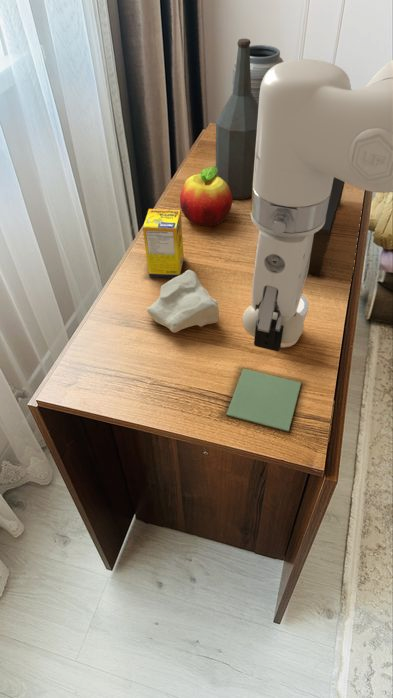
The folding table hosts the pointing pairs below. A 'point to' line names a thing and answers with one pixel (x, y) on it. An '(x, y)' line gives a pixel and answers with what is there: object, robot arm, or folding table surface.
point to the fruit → (206, 198)
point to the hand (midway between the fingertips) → (271, 331)
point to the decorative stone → (184, 304)
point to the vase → (260, 66)
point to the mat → (264, 399)
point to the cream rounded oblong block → (291, 325)
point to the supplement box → (163, 242)
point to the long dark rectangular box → (325, 230)
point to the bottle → (238, 130)
